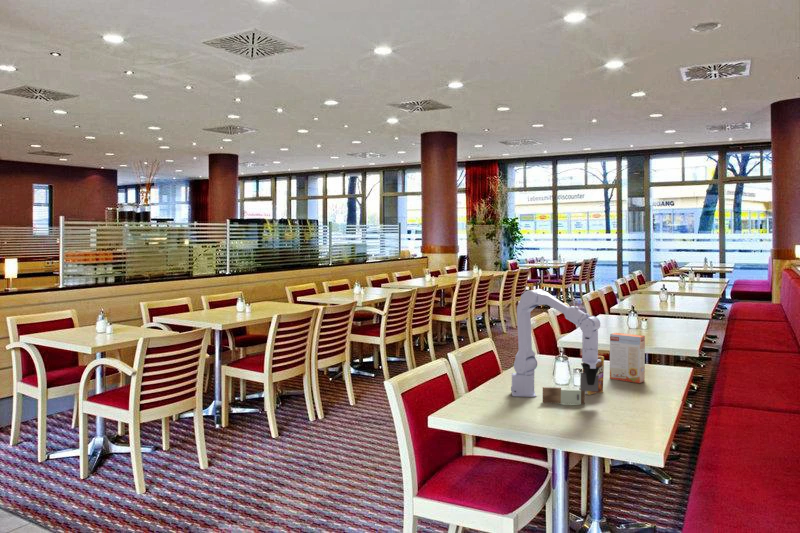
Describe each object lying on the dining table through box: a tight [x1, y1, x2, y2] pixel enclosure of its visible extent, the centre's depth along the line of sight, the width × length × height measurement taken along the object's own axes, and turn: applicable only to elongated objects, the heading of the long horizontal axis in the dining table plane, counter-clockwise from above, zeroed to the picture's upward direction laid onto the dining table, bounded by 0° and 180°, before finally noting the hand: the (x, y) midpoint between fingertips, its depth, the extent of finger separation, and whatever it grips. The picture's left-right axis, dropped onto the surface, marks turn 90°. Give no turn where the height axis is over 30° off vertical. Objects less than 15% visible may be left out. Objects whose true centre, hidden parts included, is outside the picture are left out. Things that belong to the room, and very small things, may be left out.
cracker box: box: [609, 332, 646, 384], centre depth 273 cm, size 14×6×21 cm, turn 46°
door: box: [560, 388, 582, 406], centre depth 235 cm, size 8×2×6 cm, turn 82°
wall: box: [542, 386, 586, 405], centre depth 238 cm, size 16×1×6 cm, turn 82°
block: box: [579, 372, 598, 391], centre depth 233 cm, size 6×4×6 cm, turn 82°
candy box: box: [582, 354, 605, 396], centre depth 252 cm, size 9×4×15 cm, turn 123°
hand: (589, 383), depth 233 cm, fingers closed on block, 4 cm apart
